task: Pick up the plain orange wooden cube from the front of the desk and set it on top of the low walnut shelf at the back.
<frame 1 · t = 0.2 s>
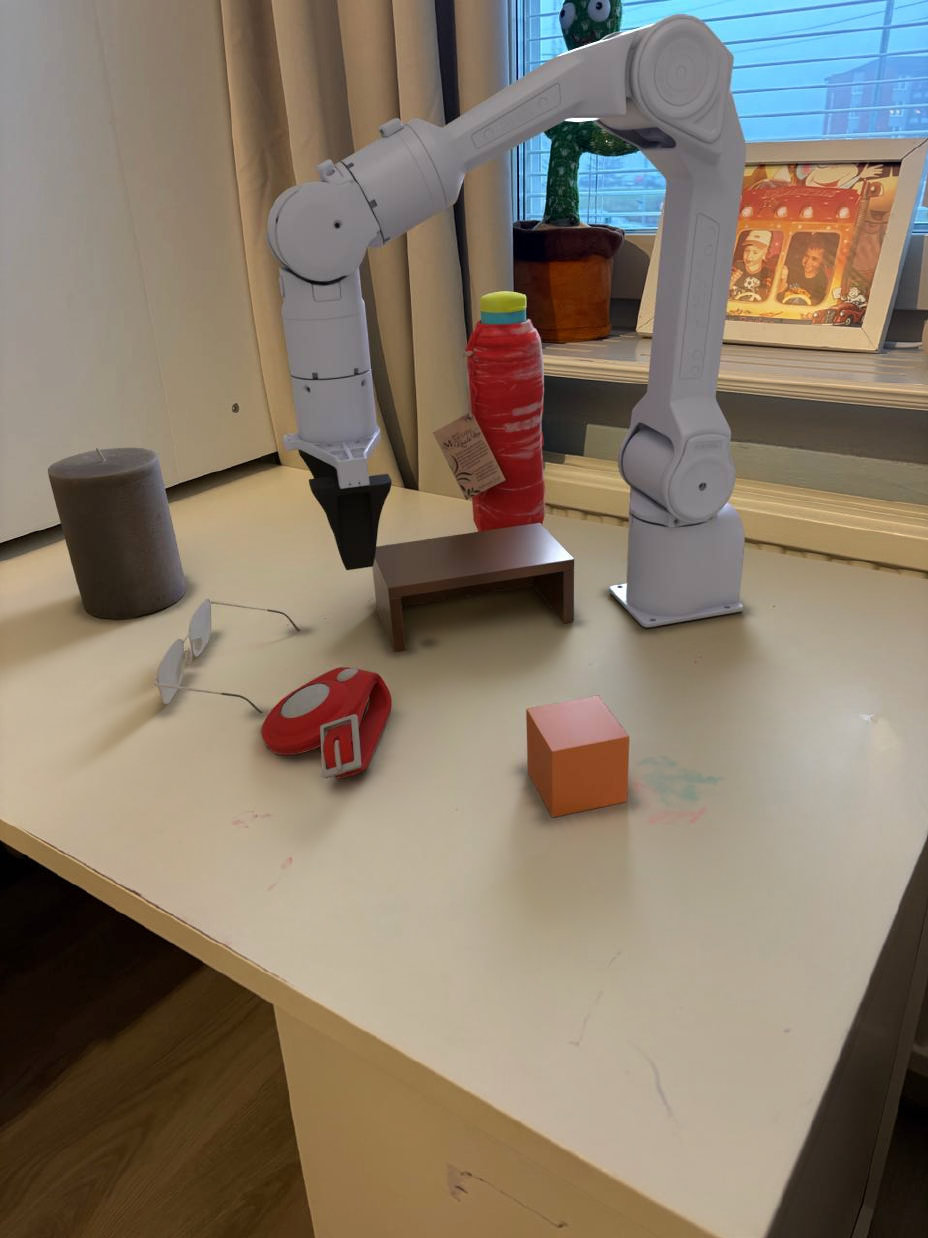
hand: (351, 547, 70), 10 cm above the table, tool pointing down, fingers open, 7 cm apart
water bottle: (499, 544, 96), on the table
pillar candle: (136, 598, 88), on the table
eyeglasses: (236, 672, 75), on the table
plain orange wooden cube: (575, 786, 59), on the table
shelf: (472, 614, 81), on the table
tracker holder: (327, 746, 64), on the table
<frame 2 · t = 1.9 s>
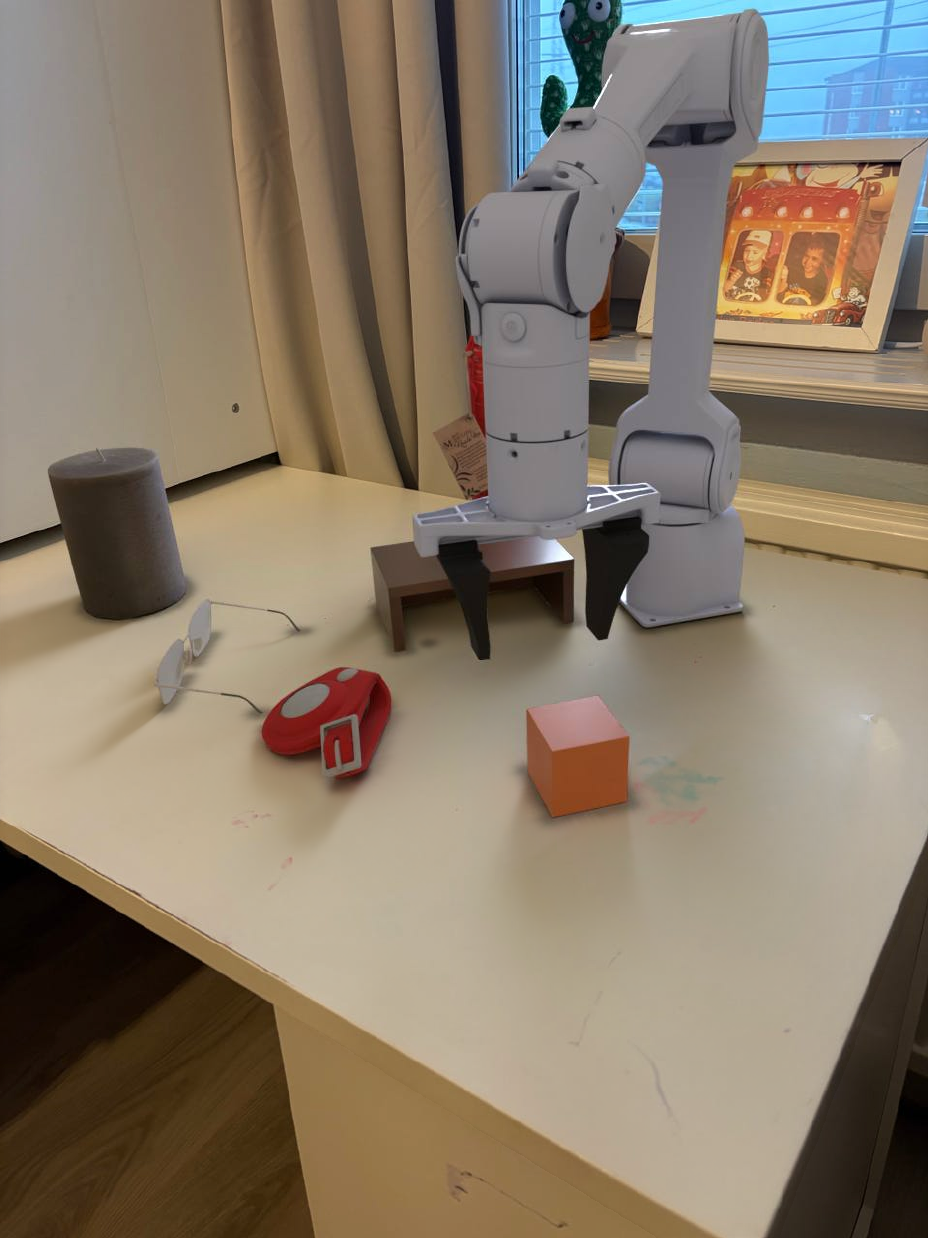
hand: (539, 642, 56), 9 cm above the table, tool pointing down, fingers open, 7 cm apart
nothing on the table moved.
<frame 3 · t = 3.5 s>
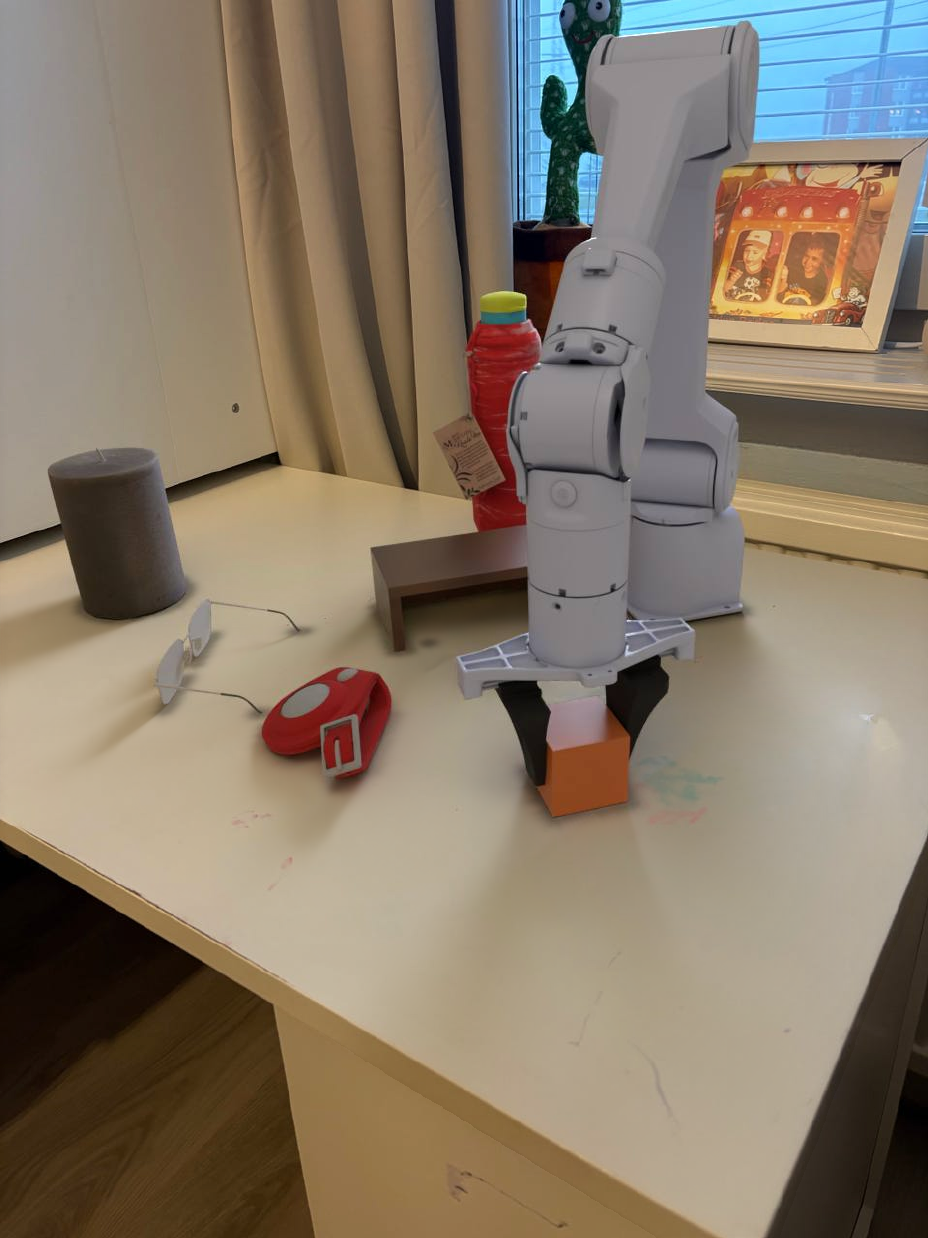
hand: (576, 768, 58), 1 cm above the table, tool pointing down, fingers closed on plain orange wooden cube, 5 cm apart
plain orange wooden cube: (576, 786, 59), on the table, touching gripper
everything else where it was.
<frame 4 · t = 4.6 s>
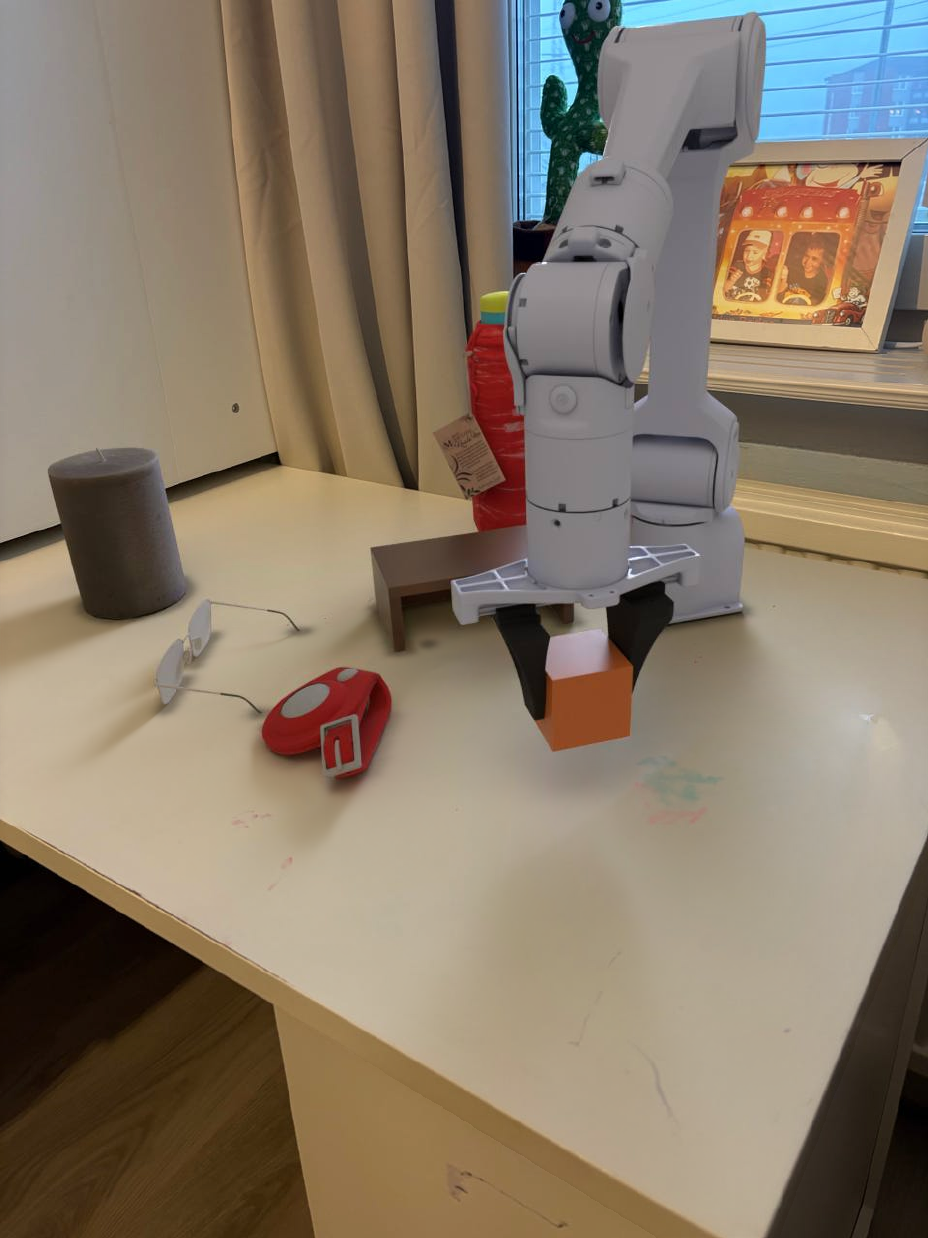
hand: (576, 703, 56), 6 cm above the table, tool pointing down, fingers closed on plain orange wooden cube, 5 cm apart
plain orange wooden cube: (577, 722, 57), point 5 cm above the table, touching gripper
everything else where it was.
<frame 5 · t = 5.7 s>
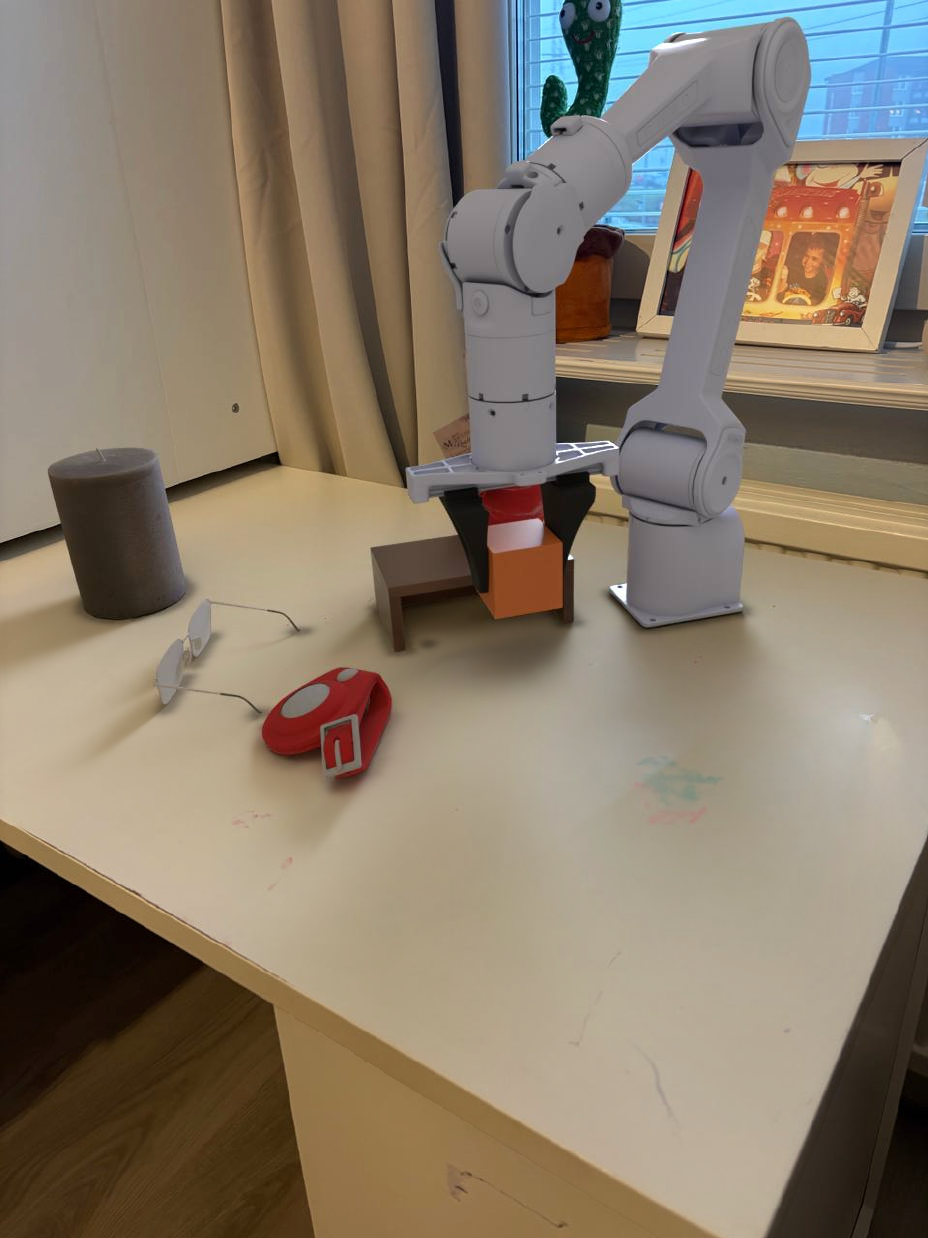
hand: (517, 581, 65), 9 cm above the table, tool pointing down, fingers closed on plain orange wooden cube, 5 cm apart
plain orange wooden cube: (518, 598, 66), point 8 cm above the table, touching gripper
everything else where it was.
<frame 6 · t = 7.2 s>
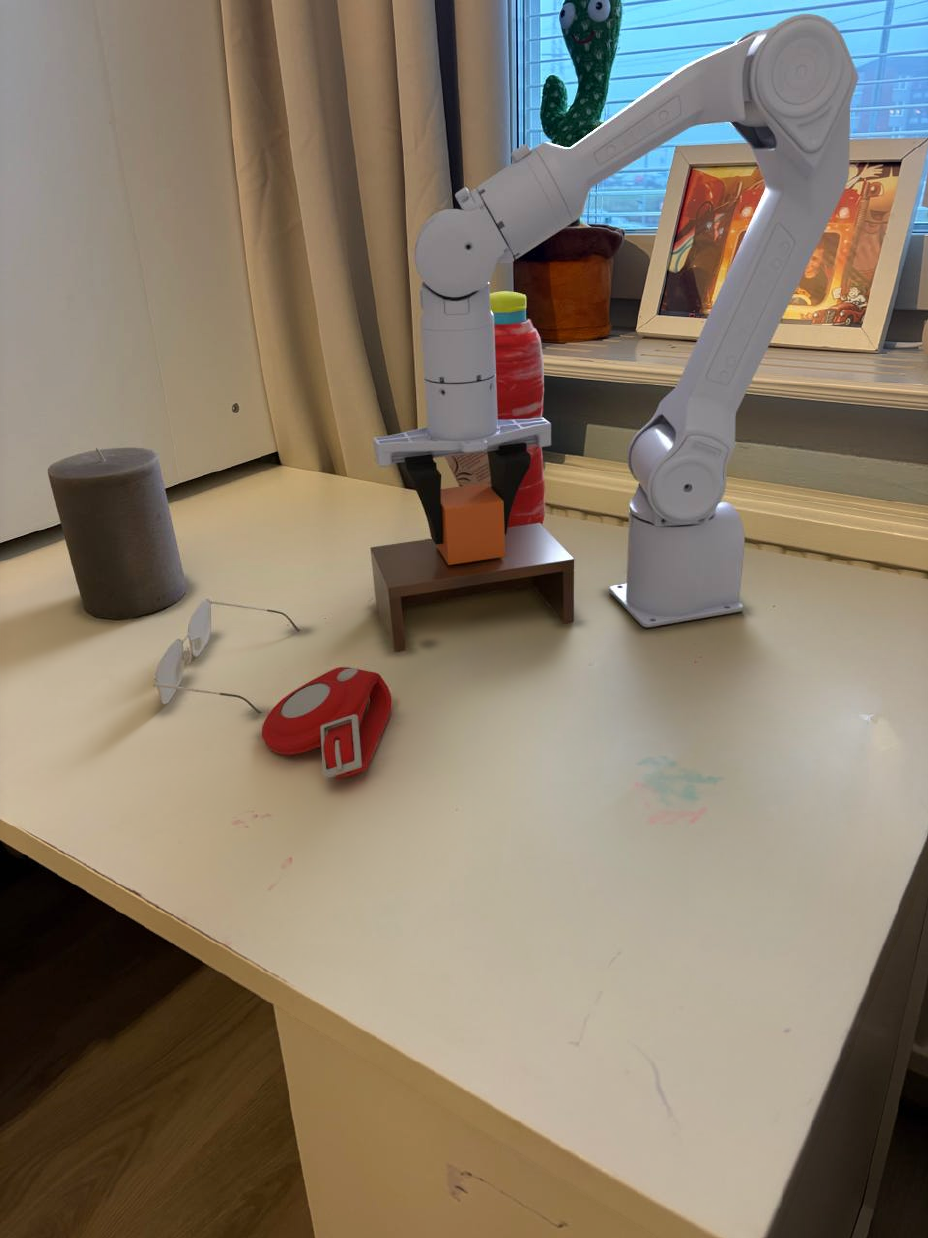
hand: (468, 535, 78), 8 cm above the table, tool pointing down, fingers closed on plain orange wooden cube, 5 cm apart
plain orange wooden cube: (469, 550, 78), point 6 cm above the table, touching gripper
everything else where it was.
when the fingers open (7 cm above the table, at t = 7.8 s): plain orange wooden cube moves 2 cm, resting on shelf.
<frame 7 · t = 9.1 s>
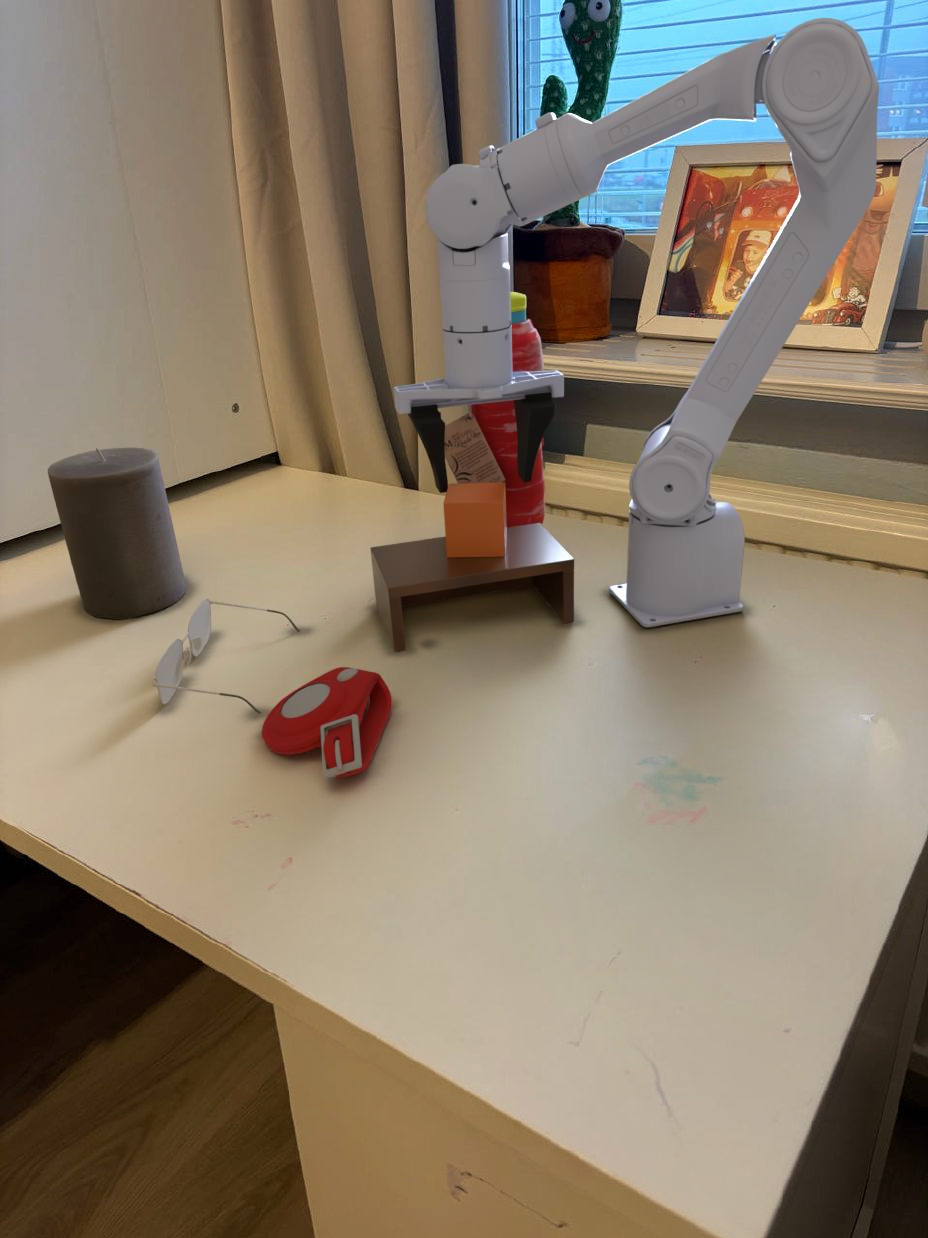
hand: (483, 483, 81), 10 cm above the table, tool pointing down, fingers open, 7 cm apart
plain orange wooden cube: (477, 546, 80), point 6 cm above the table, touching gripper, shelf
everything else where it was.
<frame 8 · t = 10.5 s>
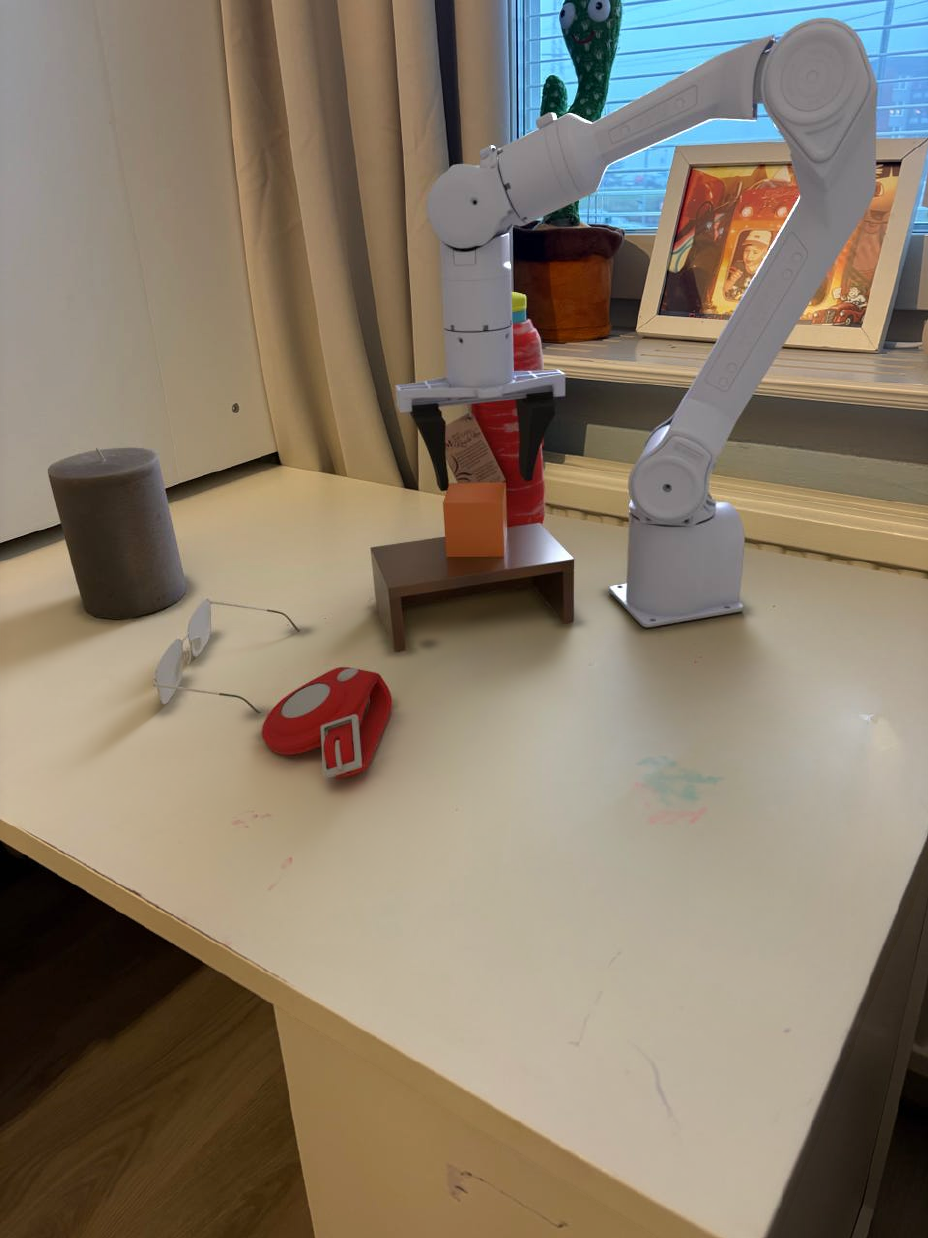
hand: (484, 482, 81), 10 cm above the table, tool pointing down, fingers open, 7 cm apart
nothing on the table moved.
at the end: plain orange wooden cube inside the target area on the shelf (1.6 cm from its centre), point 6.0 cm above the shelf's base; plain orange wooden cube tilted 0°; the gripper is holding nothing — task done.
